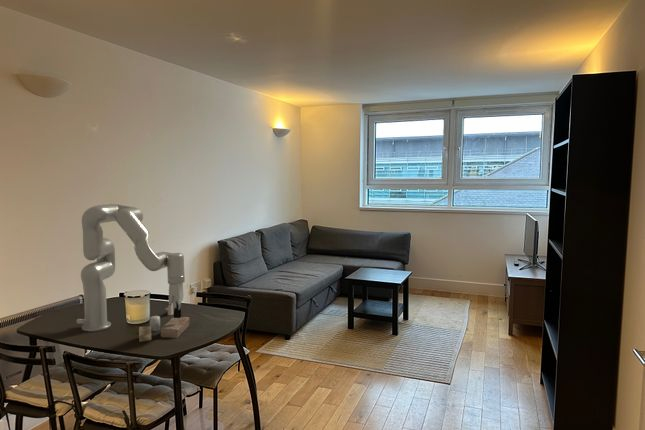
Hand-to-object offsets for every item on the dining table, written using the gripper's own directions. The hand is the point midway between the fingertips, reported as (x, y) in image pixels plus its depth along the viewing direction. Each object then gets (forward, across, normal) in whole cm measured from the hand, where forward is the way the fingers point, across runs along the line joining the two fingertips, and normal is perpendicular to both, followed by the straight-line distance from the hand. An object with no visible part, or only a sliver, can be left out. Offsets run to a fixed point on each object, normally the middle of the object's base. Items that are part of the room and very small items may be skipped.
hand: (177, 317), depth 210 cm
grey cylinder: (+7, -3, -11) cm, 14 cm away
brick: (+7, 0, -1) cm, 7 cm away
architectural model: (+7, -27, -9) cm, 30 cm away
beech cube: (+7, +9, -12) cm, 17 cm away
